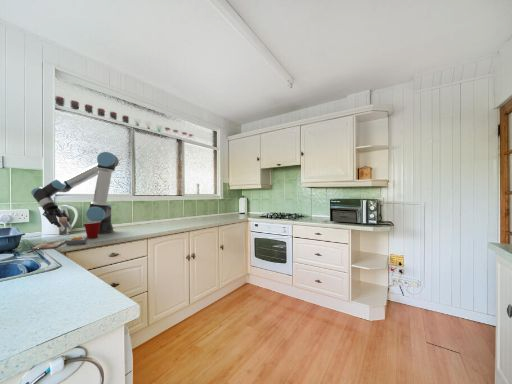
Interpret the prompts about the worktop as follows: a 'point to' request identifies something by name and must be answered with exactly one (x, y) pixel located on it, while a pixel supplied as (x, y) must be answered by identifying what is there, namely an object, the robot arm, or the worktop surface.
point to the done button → (77, 237)
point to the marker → (64, 223)
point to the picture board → (49, 244)
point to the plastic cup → (92, 228)
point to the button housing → (77, 241)
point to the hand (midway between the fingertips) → (67, 229)
